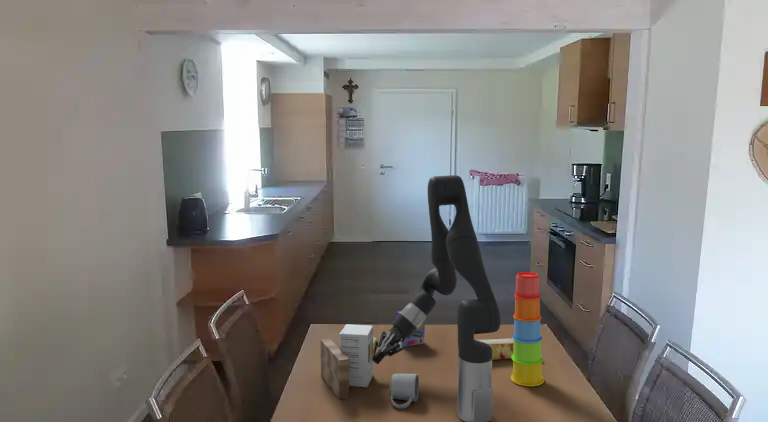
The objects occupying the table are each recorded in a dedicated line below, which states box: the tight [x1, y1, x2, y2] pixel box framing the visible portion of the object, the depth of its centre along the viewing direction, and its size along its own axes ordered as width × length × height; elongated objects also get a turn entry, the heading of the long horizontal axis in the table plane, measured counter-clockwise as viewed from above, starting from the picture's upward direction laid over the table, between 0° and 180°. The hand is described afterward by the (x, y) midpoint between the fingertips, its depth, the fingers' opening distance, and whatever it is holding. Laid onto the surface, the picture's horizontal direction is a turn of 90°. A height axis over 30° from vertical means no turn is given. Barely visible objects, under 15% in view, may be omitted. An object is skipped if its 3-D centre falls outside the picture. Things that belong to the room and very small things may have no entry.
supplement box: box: [338, 323, 374, 388], centre depth 177 cm, size 10×9×17 cm
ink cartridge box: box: [396, 310, 426, 348], centre depth 209 cm, size 10×6×14 cm, turn 115°
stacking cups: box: [510, 271, 545, 387], centre depth 176 cm, size 10×10×35 cm
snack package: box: [476, 338, 514, 361], centre depth 197 cm, size 21×7×7 cm, turn 100°
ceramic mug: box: [388, 373, 420, 410], centre depth 165 cm, size 11×8×8 cm
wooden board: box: [319, 338, 350, 400], centre depth 174 cm, size 18×3×12 cm, turn 24°
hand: (374, 362), depth 180 cm, fingers closed
